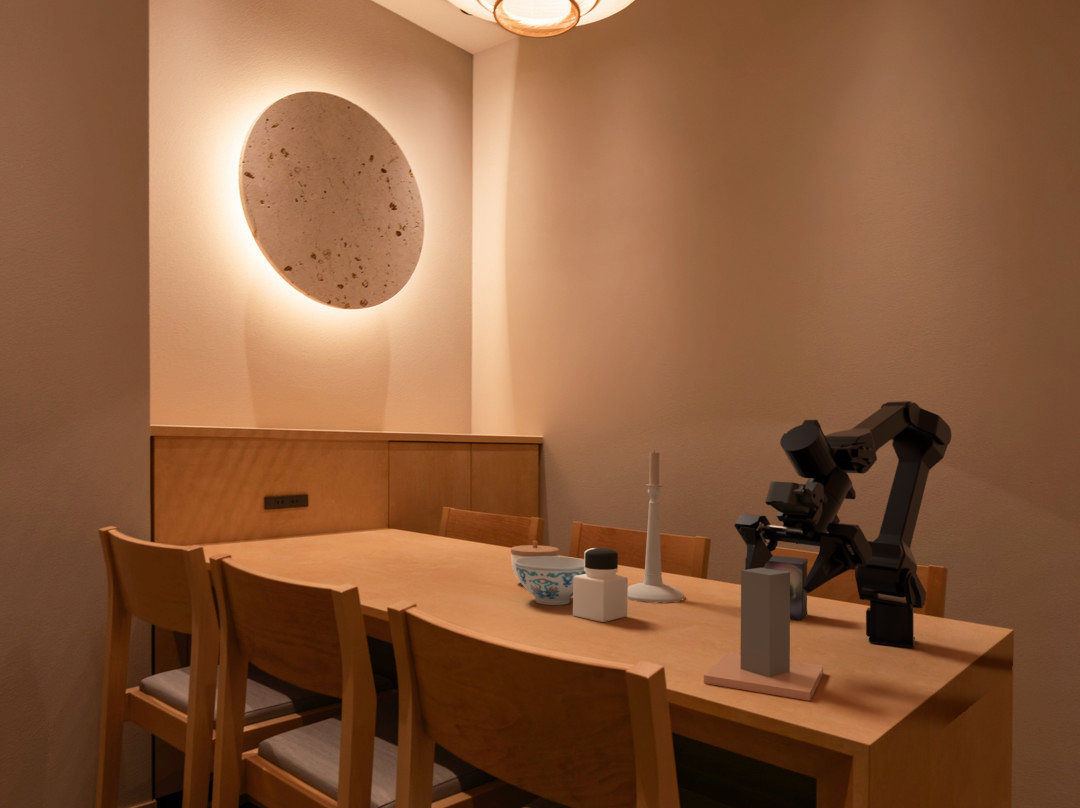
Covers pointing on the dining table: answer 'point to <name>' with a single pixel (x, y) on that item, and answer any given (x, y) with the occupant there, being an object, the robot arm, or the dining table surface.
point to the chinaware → (549, 577)
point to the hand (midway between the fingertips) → (775, 585)
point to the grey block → (765, 621)
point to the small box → (793, 582)
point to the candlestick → (653, 550)
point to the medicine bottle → (600, 587)
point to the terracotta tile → (766, 678)
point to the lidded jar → (530, 553)
